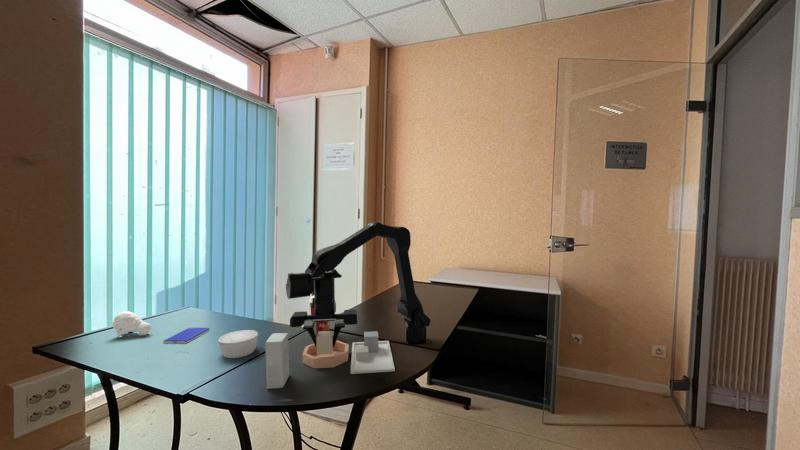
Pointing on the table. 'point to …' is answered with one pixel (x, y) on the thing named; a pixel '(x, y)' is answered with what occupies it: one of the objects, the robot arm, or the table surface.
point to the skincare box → (277, 360)
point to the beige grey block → (362, 353)
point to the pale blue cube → (371, 341)
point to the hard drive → (186, 335)
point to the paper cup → (320, 324)
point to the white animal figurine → (130, 324)
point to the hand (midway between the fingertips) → (325, 347)
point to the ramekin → (238, 343)
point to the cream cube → (325, 342)
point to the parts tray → (373, 359)
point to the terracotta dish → (326, 356)
